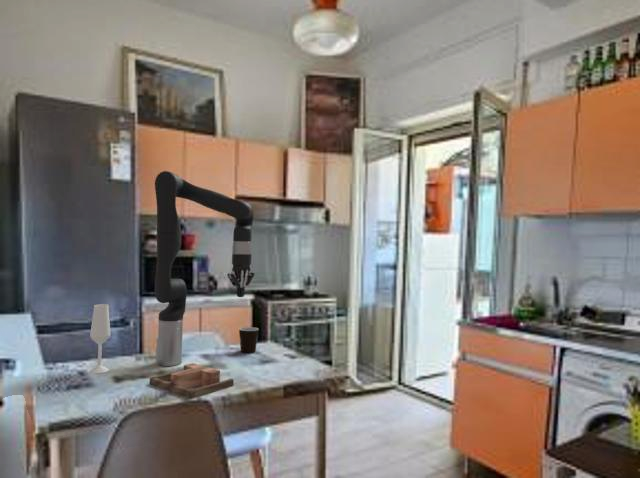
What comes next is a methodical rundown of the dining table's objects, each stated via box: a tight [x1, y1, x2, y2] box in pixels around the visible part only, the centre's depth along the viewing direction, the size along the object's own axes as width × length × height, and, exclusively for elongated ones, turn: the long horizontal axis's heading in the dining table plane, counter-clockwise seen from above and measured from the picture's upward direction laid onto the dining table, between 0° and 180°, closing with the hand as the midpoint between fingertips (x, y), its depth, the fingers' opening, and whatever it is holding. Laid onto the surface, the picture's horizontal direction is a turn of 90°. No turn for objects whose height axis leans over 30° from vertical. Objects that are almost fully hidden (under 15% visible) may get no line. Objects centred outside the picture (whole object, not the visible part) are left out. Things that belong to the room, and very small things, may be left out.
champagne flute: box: [88, 303, 111, 374], centre depth 170 cm, size 7×7×24 cm
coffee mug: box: [238, 326, 259, 354], centre depth 206 cm, size 12×9×10 cm
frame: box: [149, 369, 234, 399], centre depth 156 cm, size 22×18×2 cm
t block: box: [170, 362, 221, 389], centre depth 156 cm, size 14×13×5 cm
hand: (240, 296), depth 182 cm, fingers closed
